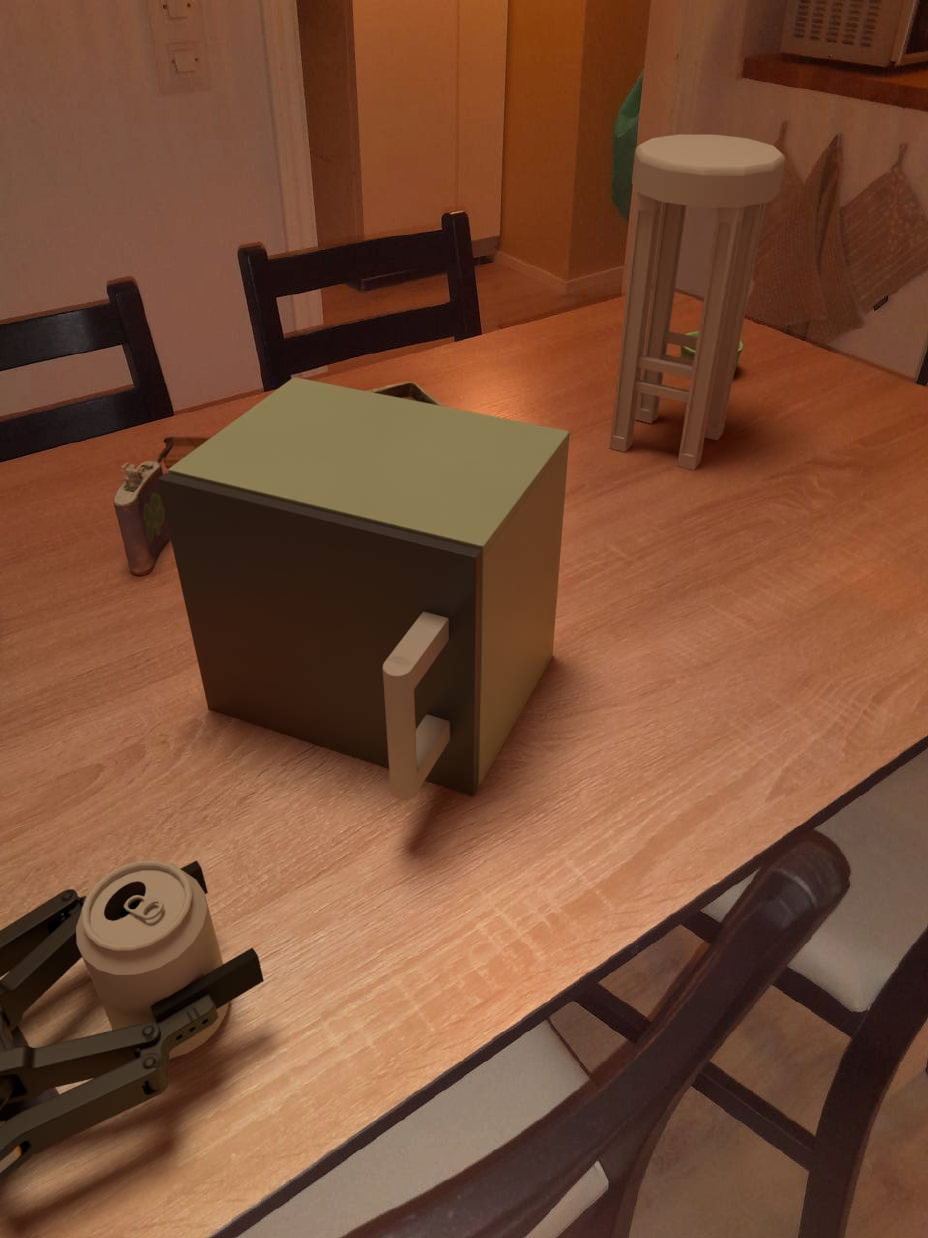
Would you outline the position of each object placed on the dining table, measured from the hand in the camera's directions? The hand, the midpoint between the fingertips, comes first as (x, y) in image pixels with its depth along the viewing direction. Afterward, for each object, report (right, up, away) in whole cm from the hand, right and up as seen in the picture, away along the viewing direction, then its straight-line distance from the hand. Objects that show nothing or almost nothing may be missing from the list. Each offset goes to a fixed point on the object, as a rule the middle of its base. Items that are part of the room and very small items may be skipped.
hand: (228, 919), depth 62 cm
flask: (-19, +26, +44) cm, 54 cm away
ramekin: (+51, +56, +81) cm, 111 cm away
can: (-4, -7, +2) cm, 8 cm away
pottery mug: (-16, +34, +54) cm, 65 cm away
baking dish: (+8, +38, +58) cm, 70 cm away
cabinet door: (+3, +6, +18) cm, 19 cm away
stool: (+41, +42, +64) cm, 87 cm away
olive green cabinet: (+8, +14, +27) cm, 32 cm away
